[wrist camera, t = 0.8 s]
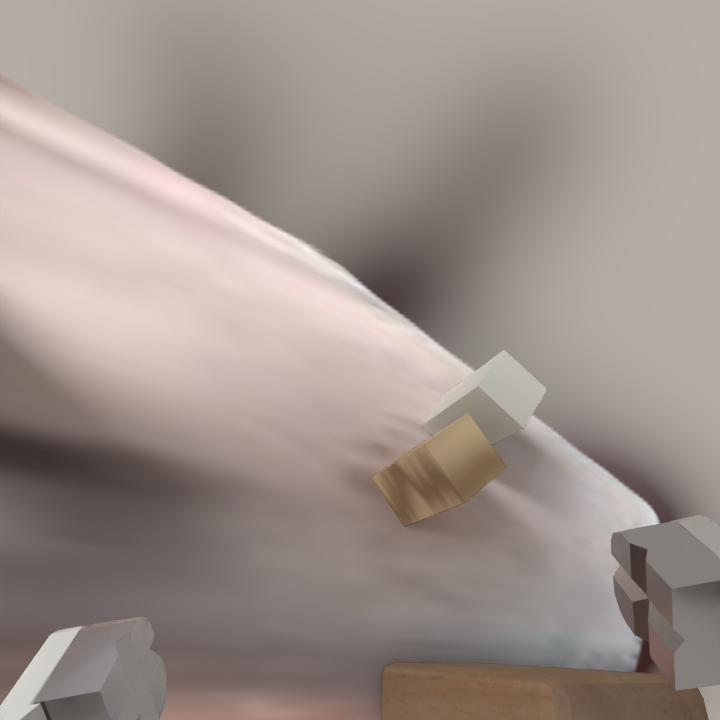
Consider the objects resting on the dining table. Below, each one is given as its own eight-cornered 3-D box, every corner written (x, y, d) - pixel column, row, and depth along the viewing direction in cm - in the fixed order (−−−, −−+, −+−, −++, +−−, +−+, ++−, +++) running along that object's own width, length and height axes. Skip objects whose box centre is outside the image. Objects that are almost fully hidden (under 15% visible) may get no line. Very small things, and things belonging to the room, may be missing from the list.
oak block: (371, 477, 48) (424, 443, 39) (411, 449, 50) (468, 412, 42) (404, 526, 47) (465, 502, 39) (442, 495, 49) (507, 466, 41)
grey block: (420, 426, 52) (477, 385, 44) (445, 393, 55) (504, 349, 46) (459, 462, 52) (523, 428, 43) (482, 427, 55) (547, 389, 46)
